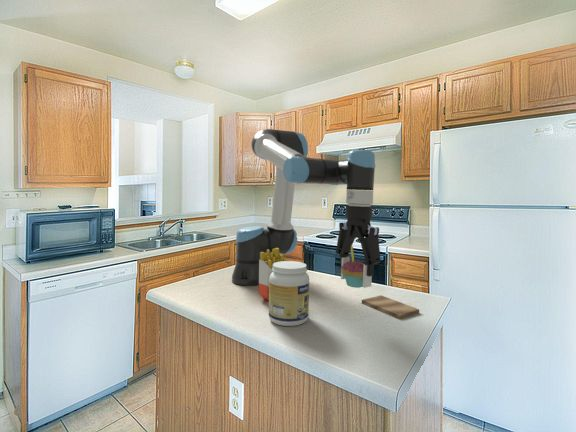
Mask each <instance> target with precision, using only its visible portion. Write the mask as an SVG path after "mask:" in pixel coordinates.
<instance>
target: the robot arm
mask: <svg viewBox="0 0 576 432" xmlns="http://www.w3.org/2000/svg"><path fill="white" fill-rule="evenodd" d="M308 144H309V143H308V140H307V139H306V137H305V135H304V134H303V133H301V132H297V131H294V130H293V131H289V130H280V129H273V128H265V129H262V130H259V131H257V133H256V134H255V135H253V138H252V139H251V151H253V153H254V154H255V155H256V156H257V157H258V158H259V159H261V160H267V161H268V162H270V163H271V164H273V165H274V166H275V168H276V169H275V170H276V171H275V179H274V187H273V188H274V190H273V199H272V208H271V209H272V210H271V219H270V220H271V221H269V222H267V225H266V226H267V228H266V229H265V228H264V226H261V225H253V226H246V227H242V228H240V229H237V231H236V235H235V236H236V237H235V238H236V239H235V245H236V247H235V248H236V249H235V251H236V252H235V255H236V257H235V261H236V262H235V266H234V268H233V272H232V273H231V274H232V275H231V282H232V283H233V284H235V285H238V286H259V260H260V252H264V253H267V250H268V249H269V250H270V253H272V249H274V248H279V253H280V254H284V255H289V254H291V253H292V252H293V251H295V249H296V247H297V245H298V236H297V235H298V234H297V231H296V230H295V229H294V225H293V224H292V223H291V221H292V212H293V203H294V196H295V195H294V194H295V186H296V184H298V185H299V184H313V185H315V184H316V185H318V184H319V185H320V184H321V185H331V186H338V185H346V195H345V196H346V197H345V198H346V200H345V203H346V204H347V205H346V206H345V215H344V216H345V218H346V222H339V225H338V227H339V232H338V236H337V237H338V238H337V242H336V243H337V244H336V248H335V254H336V255H339V257H340V267H341V266H342V265H344V264H345V263H347V262H349V261H351V257H350V256H351V255H350V254H349V253H351V244H352V245H353V244H354V242H355V239H357V240H358V241H359V243H360V246H361V250H362V253H363V257H364V261H365V263H364V262H363V263H364V267H363V287H362V288H364V289H365V288H370V287H372V282H373V281H372V278H373V276H374V274H375V273H374V272H375V271H374V270H375V265H376V264H377V265H378V264H380V263H381V249H380V242H379V240H380V239H379V233H380V228H379V227H375V226H372V224H371V220H372V219H373V209H374V208H373V206H372V205H374V188H375V187H374V186H375V185H374V183H375V170H376V169H375V168H376V157H375V152H374V151H372V150H368V149H365V150H364V149H354V150H351V151H349V152H348V154H347V159H327V158H314V157H308V153H309V145H308ZM340 279H341V280H346V279H345V277H344V274H343V273H342V269H341V268H340Z"/></svg>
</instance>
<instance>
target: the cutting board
mask: <svg viewBox="0 0 576 432" xmlns="http://www.w3.org/2000/svg"><path fill="white" fill-rule="evenodd" d="M361 304H363V305H365V306H367V307H370V308H372V309H374V310H377V311H380V312H381V313H384V314H387V315H388V316H391V317H392V318H393V317H394V318H395V319H398V320H401V319H404V318H408V317H410V316H414V315H417V314H419V313H420V309H419V308H417V307H413V306H412V305H409V304H406V303H403V302H401V301H398V300H395V299H392V298H390V297H387V296H384V295H381V294H380V295H375V296H373V297H372V296H371V297H367V298H364V299H361Z"/></svg>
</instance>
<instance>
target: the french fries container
mask: <svg viewBox="0 0 576 432" xmlns="http://www.w3.org/2000/svg"><path fill="white" fill-rule="evenodd" d="M281 261H288V260H287V258H286V257H285V254H280V253H279V248H274V249H272V253H270V250H269V249H268V250H267V253H264V252H260V260H259V285H258V295H259V296H260V297H261V298H262V299H264V300H266V301H268V302H269V277H270V275H271V273H272V272H273V271H272V268H273V264H274V263H276V262H281Z"/></svg>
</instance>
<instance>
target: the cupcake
mask: <svg viewBox="0 0 576 432" xmlns="http://www.w3.org/2000/svg"><path fill="white" fill-rule="evenodd" d="M350 254H351V255H350V256H351V260H350V261H349V262H347V263H345V264H344V265H342V266H340V267H341V268H340V270H341V269H342V273H343V274H344V277H345V279H344V280H345V282H346V285H347V286H348V287H350V288H356V289H357V288H358V289H359V288H364V287H363V267H364V262H363V261H358V260H357V261H355V255H354V247H353V244H351V249H350Z"/></svg>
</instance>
